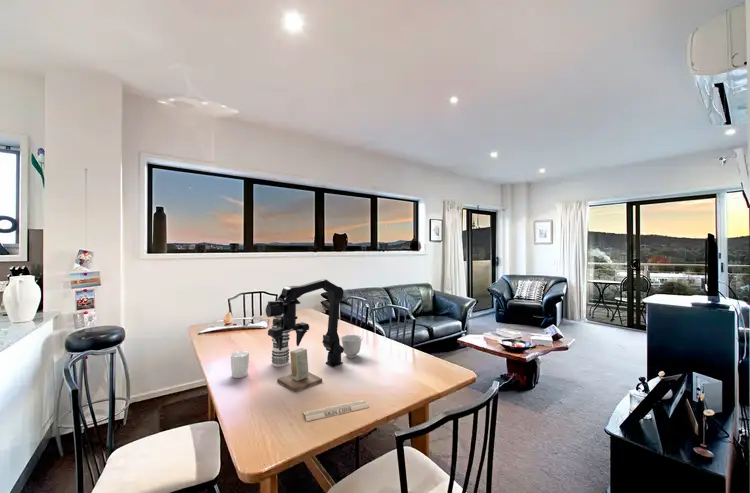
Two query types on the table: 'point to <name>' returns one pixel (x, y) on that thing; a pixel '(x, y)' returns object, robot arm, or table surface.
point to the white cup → (239, 364)
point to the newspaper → (335, 410)
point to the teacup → (351, 345)
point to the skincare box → (299, 364)
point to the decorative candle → (281, 356)
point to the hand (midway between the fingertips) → (289, 348)
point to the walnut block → (299, 382)
